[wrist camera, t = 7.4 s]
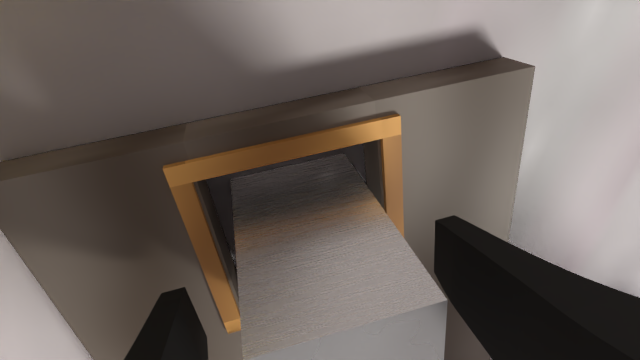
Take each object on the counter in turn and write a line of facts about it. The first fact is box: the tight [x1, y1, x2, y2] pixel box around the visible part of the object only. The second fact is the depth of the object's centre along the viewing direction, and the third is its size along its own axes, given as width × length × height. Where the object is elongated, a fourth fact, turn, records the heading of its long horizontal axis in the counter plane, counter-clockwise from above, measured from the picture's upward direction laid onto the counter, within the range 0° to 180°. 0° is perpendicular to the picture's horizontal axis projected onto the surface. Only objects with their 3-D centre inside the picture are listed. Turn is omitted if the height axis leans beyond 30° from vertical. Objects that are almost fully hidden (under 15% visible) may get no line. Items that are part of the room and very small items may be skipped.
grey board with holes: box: [0, 57, 535, 360], centre depth 15 cm, size 16×17×2 cm
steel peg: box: [231, 153, 448, 360], centre depth 11 cm, size 4×4×7 cm
